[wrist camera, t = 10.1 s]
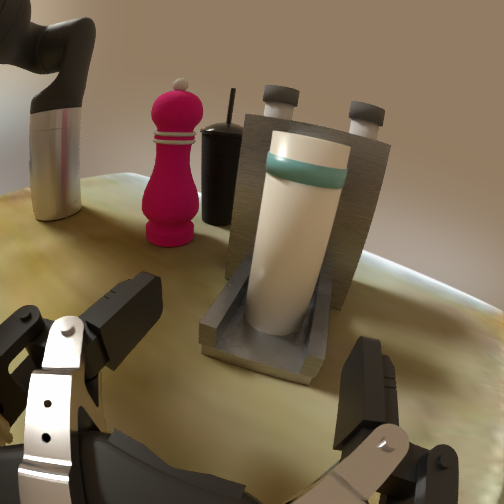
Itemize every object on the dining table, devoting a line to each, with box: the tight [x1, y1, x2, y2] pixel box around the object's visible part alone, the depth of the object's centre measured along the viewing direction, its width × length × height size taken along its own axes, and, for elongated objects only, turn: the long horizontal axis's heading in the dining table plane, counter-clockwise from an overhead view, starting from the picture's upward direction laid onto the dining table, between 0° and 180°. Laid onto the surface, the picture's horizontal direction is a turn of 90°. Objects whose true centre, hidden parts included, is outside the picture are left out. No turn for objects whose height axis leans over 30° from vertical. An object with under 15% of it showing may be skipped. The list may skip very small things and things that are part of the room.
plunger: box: [263, 85, 299, 120], centre depth 23 cm, size 3×3×6 cm
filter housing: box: [199, 114, 391, 385], centre depth 21 cm, size 12×17×16 cm
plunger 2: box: [349, 101, 385, 140], centre depth 21 cm, size 3×3×6 cm
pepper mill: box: [142, 78, 203, 247], centre depth 30 cm, size 7×7×20 cm
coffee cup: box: [244, 131, 351, 336], centre depth 19 cm, size 5×5×14 cm
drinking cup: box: [200, 88, 244, 226], centre depth 37 cm, size 8×8×20 cm
